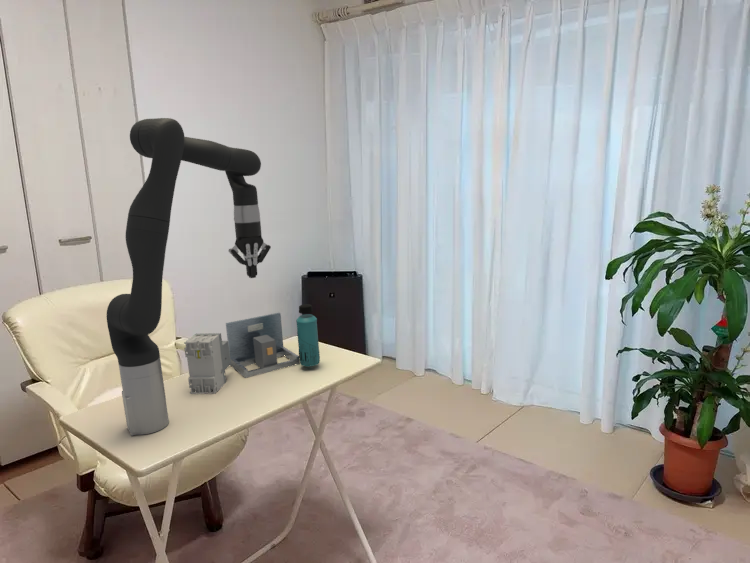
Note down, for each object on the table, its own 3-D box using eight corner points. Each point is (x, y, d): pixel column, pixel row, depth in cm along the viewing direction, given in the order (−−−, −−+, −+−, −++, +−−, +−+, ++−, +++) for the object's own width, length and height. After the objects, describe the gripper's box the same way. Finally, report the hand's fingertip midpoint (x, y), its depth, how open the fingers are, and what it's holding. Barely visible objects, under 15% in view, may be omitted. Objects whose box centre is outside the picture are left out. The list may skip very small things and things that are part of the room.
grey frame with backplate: (245, 377, 162) (240, 333, 159) (230, 365, 173) (225, 323, 170) (299, 363, 171) (296, 321, 168) (282, 352, 182) (279, 312, 179)
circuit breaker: (233, 373, 165) (228, 326, 162) (215, 393, 151) (209, 342, 148) (210, 374, 166) (204, 327, 163) (190, 393, 152) (183, 342, 149)
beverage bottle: (323, 363, 170) (318, 302, 166) (317, 371, 164) (313, 307, 160) (302, 363, 171) (298, 302, 167) (296, 371, 165) (291, 308, 161)
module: (265, 371, 166) (262, 343, 164) (255, 364, 172) (253, 337, 170) (278, 368, 168) (276, 340, 166) (268, 361, 175) (266, 334, 173)
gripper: (229, 223, 154) (235, 282, 158) (273, 219, 161) (277, 276, 165) (221, 221, 161) (227, 278, 164) (263, 217, 167) (268, 272, 171)
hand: (252, 277), depth 164 cm, fingers closed
